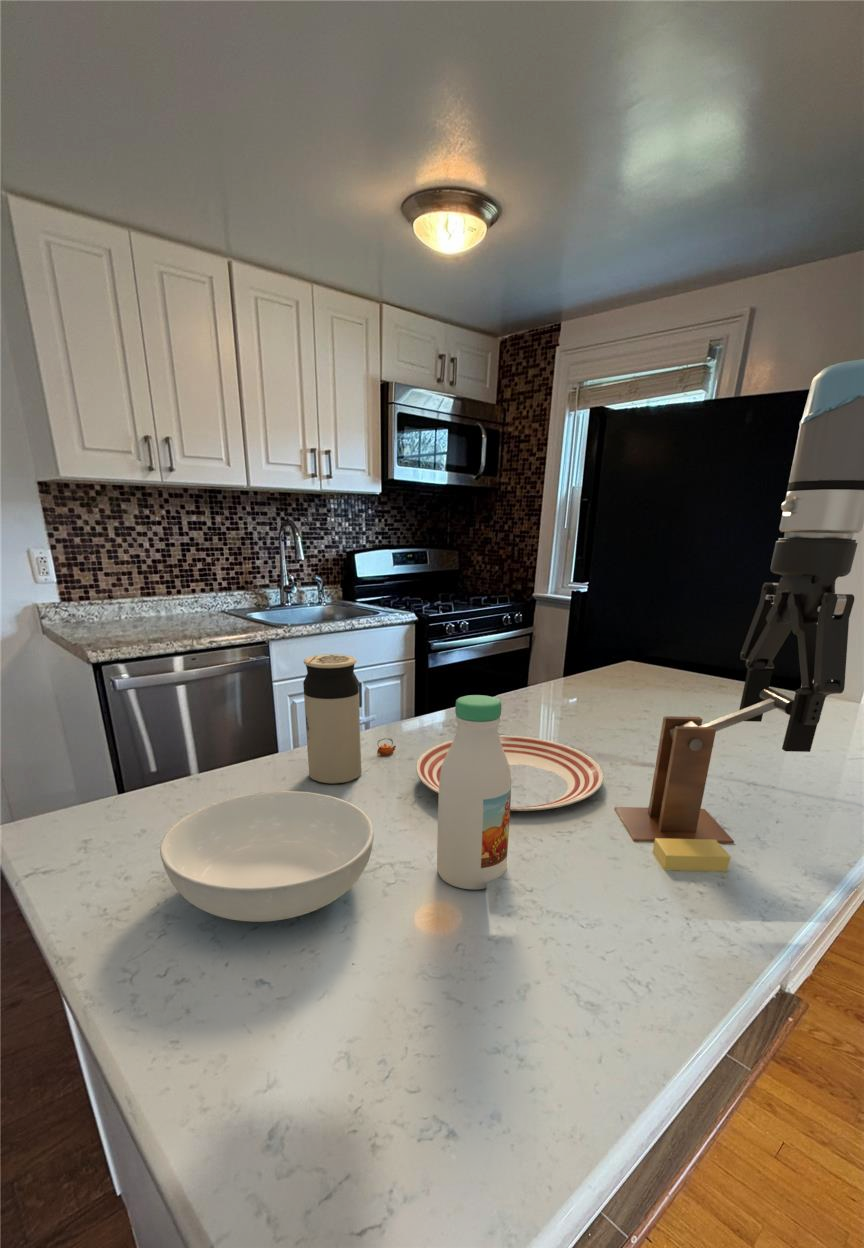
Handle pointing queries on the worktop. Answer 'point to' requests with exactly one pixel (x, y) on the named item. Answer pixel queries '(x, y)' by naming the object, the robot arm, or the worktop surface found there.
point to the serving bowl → (268, 854)
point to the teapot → (385, 749)
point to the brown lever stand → (677, 788)
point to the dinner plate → (534, 752)
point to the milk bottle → (474, 798)
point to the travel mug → (332, 718)
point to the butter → (691, 854)
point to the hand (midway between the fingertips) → (770, 734)
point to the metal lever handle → (750, 710)
